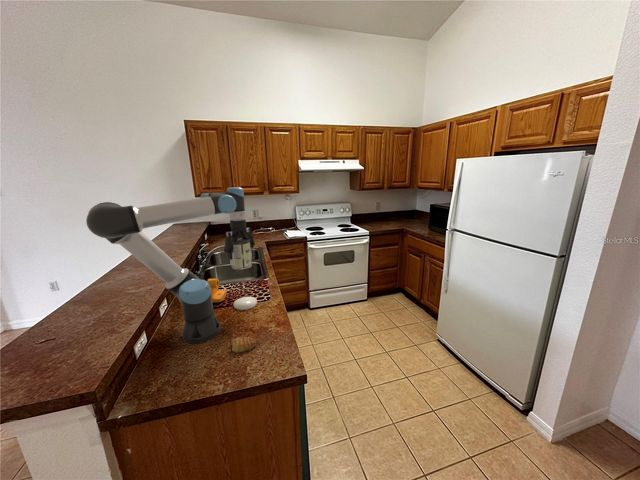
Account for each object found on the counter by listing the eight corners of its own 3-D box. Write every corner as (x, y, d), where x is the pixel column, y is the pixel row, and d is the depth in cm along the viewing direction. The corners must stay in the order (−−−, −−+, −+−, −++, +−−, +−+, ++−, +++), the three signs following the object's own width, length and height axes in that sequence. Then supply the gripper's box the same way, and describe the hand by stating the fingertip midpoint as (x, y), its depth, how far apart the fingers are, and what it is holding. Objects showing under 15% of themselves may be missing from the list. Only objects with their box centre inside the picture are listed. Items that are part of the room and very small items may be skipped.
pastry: (255, 339, 109) (255, 331, 108) (256, 349, 103) (256, 341, 102) (232, 344, 107) (231, 336, 105) (232, 355, 100) (231, 346, 99)
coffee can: (235, 262, 139) (233, 237, 135) (254, 263, 138) (252, 237, 135) (228, 269, 129) (225, 242, 125) (248, 270, 128) (246, 242, 125)
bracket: (221, 303, 139) (218, 283, 136) (207, 303, 139) (204, 283, 136) (227, 294, 149) (224, 274, 146) (214, 294, 149) (212, 275, 146)
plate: (243, 312, 129) (243, 310, 129) (229, 305, 136) (228, 303, 136) (261, 302, 139) (261, 300, 138) (247, 296, 146) (247, 294, 145)
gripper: (222, 223, 116) (227, 270, 122) (260, 216, 134) (263, 257, 140) (212, 222, 121) (217, 266, 126) (250, 215, 138) (253, 255, 144)
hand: (241, 262), depth 133 cm, fingers closed on coffee can, 10 cm apart
